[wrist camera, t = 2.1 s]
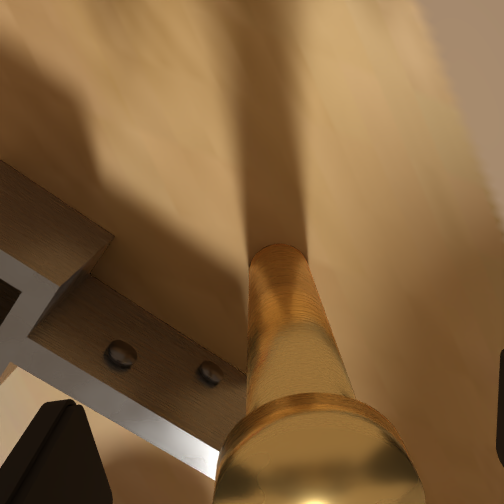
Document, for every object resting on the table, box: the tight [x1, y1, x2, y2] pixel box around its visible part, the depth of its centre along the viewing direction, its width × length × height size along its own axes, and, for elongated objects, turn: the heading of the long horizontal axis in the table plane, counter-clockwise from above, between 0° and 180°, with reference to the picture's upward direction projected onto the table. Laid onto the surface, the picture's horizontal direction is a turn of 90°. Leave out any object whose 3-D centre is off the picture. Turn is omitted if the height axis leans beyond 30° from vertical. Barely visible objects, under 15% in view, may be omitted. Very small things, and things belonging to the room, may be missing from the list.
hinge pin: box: [213, 244, 426, 504], centre depth 14 cm, size 4×4×13 cm
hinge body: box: [0, 160, 247, 480], centre depth 20 cm, size 16×16×6 cm
